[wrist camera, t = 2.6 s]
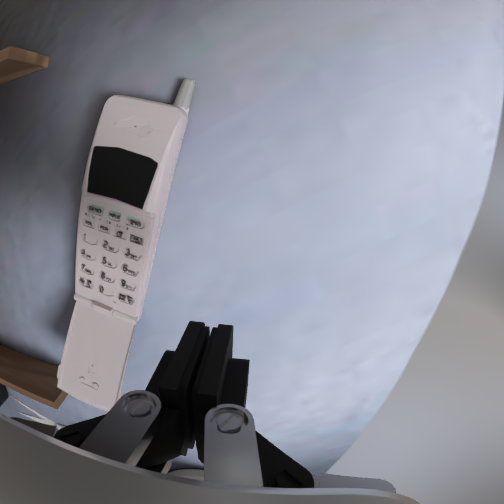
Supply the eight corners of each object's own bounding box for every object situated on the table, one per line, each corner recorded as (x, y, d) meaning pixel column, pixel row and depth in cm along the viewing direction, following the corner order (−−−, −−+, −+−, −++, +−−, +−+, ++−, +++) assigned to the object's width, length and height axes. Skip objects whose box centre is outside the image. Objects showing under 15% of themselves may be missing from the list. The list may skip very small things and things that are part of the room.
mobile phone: (56, 390, 20) (86, 51, 12) (84, 352, 25) (129, 71, 17) (117, 419, 20) (185, 63, 12) (139, 375, 26) (208, 86, 18)
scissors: (129, 469, 32) (22, 425, 32) (130, 466, 33) (24, 422, 33) (115, 429, 29) (-1, 379, 29) (117, 424, 29) (2, 376, 29)
